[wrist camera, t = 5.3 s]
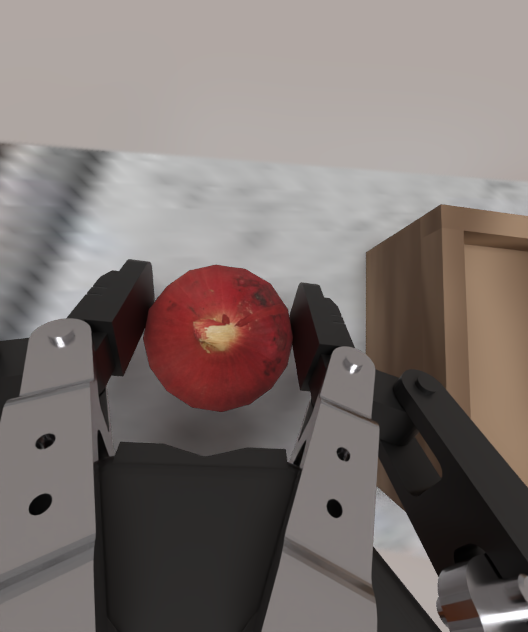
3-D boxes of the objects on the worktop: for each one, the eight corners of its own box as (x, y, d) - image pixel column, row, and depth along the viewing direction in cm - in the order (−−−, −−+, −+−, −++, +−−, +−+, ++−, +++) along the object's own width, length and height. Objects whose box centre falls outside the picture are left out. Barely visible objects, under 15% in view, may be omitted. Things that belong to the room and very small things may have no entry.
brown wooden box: (362, 473, 16) (451, 553, 10) (363, 254, 17) (441, 204, 11) (551, 469, 18) (724, 533, 12) (537, 272, 19) (684, 237, 13)
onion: (234, 267, 16) (250, 187, 8) (293, 351, 16) (367, 355, 8) (143, 325, 15) (54, 301, 7) (206, 415, 15) (191, 497, 7)
